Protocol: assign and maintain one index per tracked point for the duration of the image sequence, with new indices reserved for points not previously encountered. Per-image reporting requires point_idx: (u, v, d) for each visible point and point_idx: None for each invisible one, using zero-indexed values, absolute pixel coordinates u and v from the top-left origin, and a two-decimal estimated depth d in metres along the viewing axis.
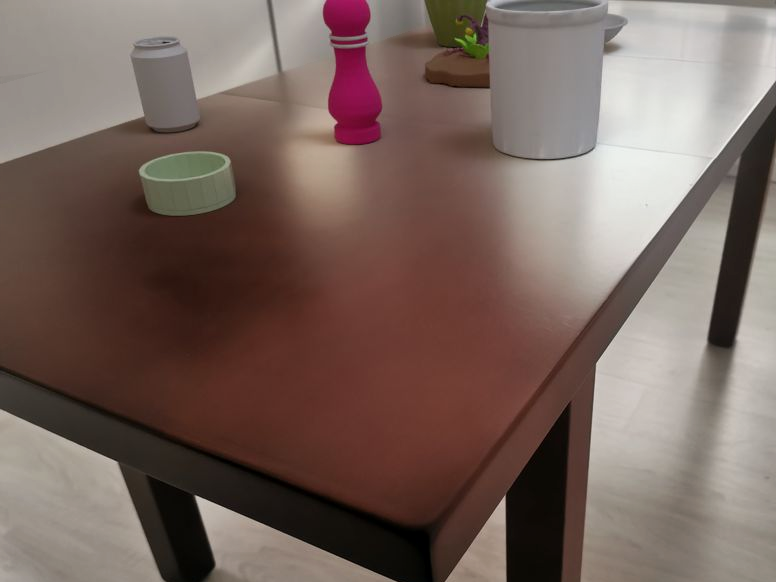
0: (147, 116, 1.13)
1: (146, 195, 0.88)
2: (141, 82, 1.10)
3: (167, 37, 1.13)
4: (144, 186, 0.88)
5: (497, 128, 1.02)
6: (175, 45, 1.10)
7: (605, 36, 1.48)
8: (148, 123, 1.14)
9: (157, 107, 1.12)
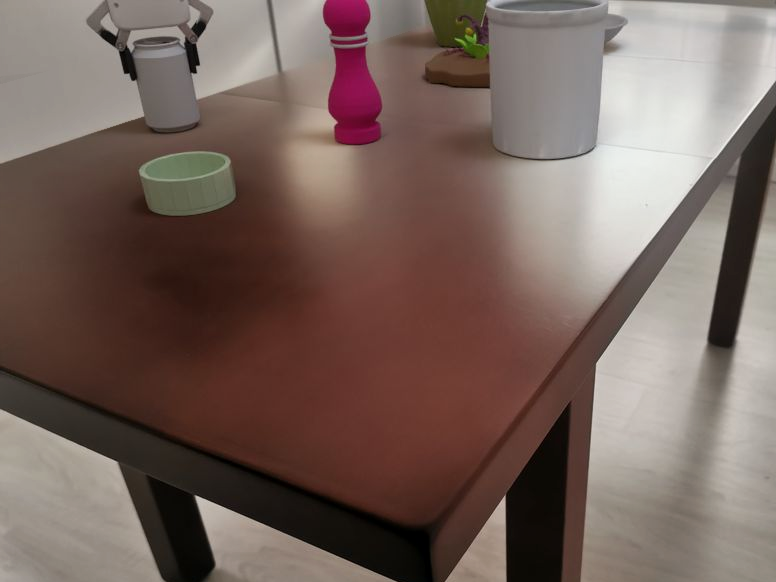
0: (147, 116, 1.13)
1: (146, 195, 0.88)
2: (141, 82, 1.10)
3: (167, 37, 1.13)
4: (144, 186, 0.88)
5: (497, 128, 1.02)
6: (175, 45, 1.10)
7: (605, 36, 1.48)
8: (148, 123, 1.14)
9: (157, 107, 1.12)
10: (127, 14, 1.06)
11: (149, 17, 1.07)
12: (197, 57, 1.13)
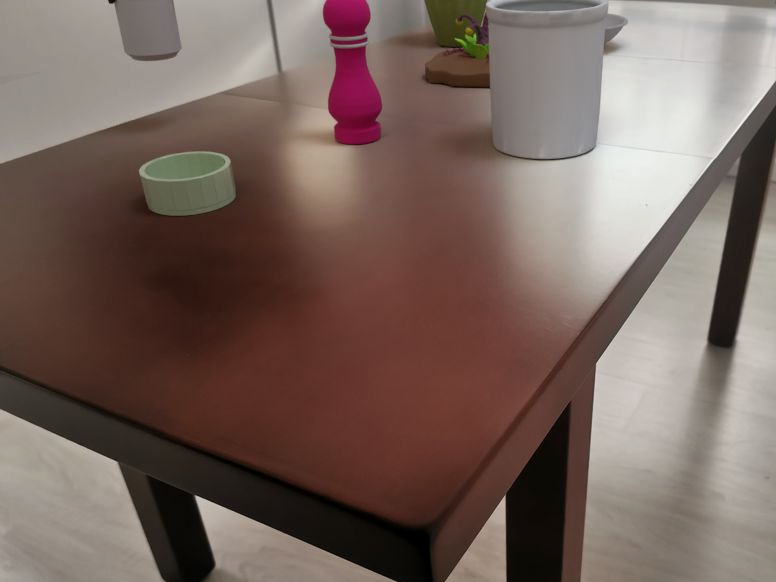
0: (126, 42, 1.08)
1: (146, 195, 0.88)
2: (120, 5, 1.05)
3: None
4: (144, 186, 0.88)
5: (497, 128, 1.02)
6: None
7: (605, 36, 1.48)
8: (126, 51, 1.09)
9: (135, 32, 1.06)
10: None
11: None
12: None
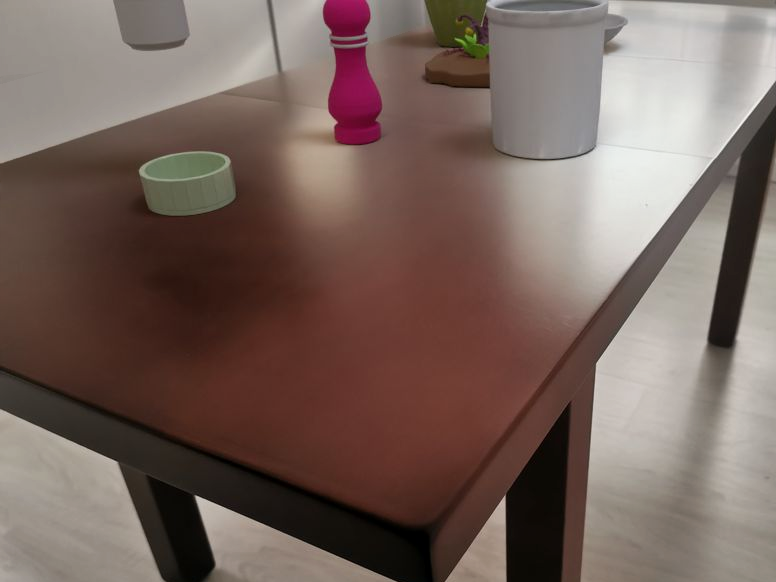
0: (124, 29, 0.90)
1: (146, 195, 0.88)
2: None
3: None
4: (144, 186, 0.88)
5: (497, 128, 1.02)
6: None
7: (605, 36, 1.48)
8: (125, 39, 0.91)
9: (135, 17, 0.89)
10: None
11: None
12: None
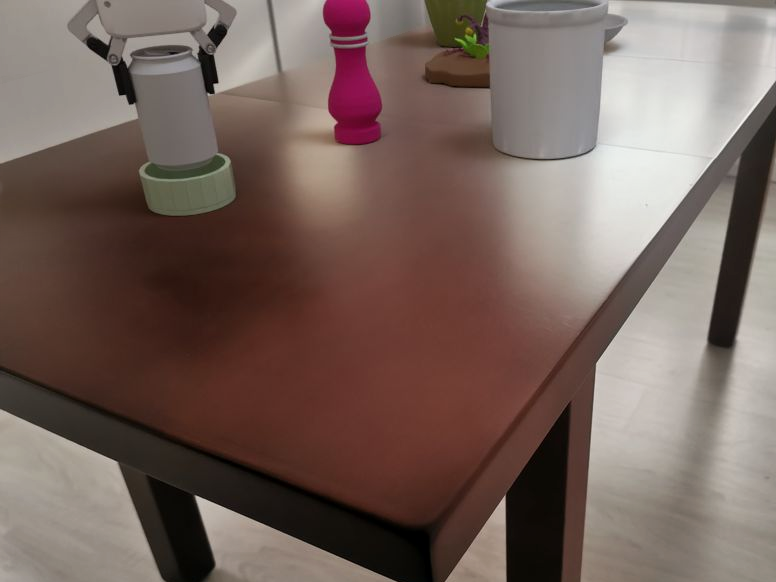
0: (150, 150, 0.86)
1: (146, 195, 0.88)
2: (142, 106, 0.83)
3: (175, 46, 0.86)
4: (144, 186, 0.88)
5: (497, 128, 1.02)
6: (186, 56, 0.83)
7: (605, 36, 1.48)
8: (151, 159, 0.87)
9: (162, 138, 0.85)
10: (122, 16, 0.79)
11: (152, 20, 0.80)
12: (215, 72, 0.86)
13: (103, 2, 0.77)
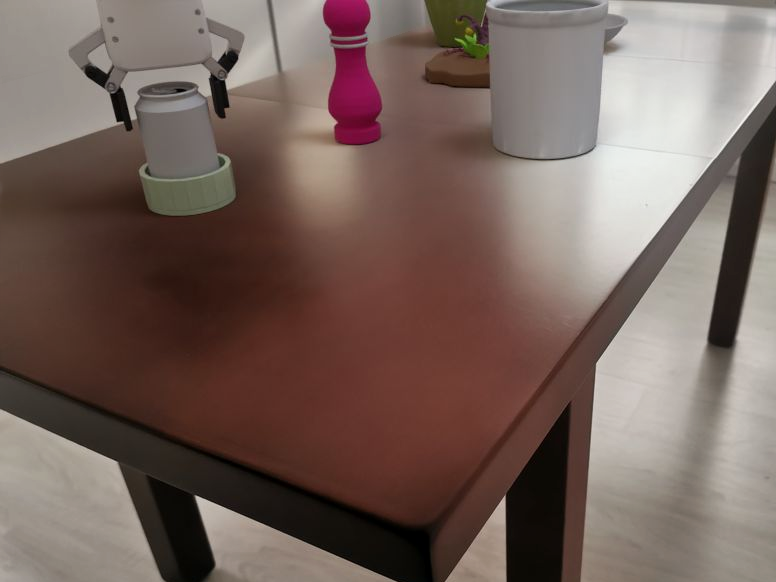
0: None
1: (146, 195, 0.88)
2: (149, 142, 0.85)
3: (182, 82, 0.88)
4: (144, 186, 0.88)
5: (497, 128, 1.02)
6: (192, 94, 0.85)
7: (605, 36, 1.48)
8: None
9: (168, 173, 0.87)
10: (130, 51, 0.80)
11: (159, 54, 0.81)
12: (226, 97, 0.88)
13: (111, 37, 0.79)
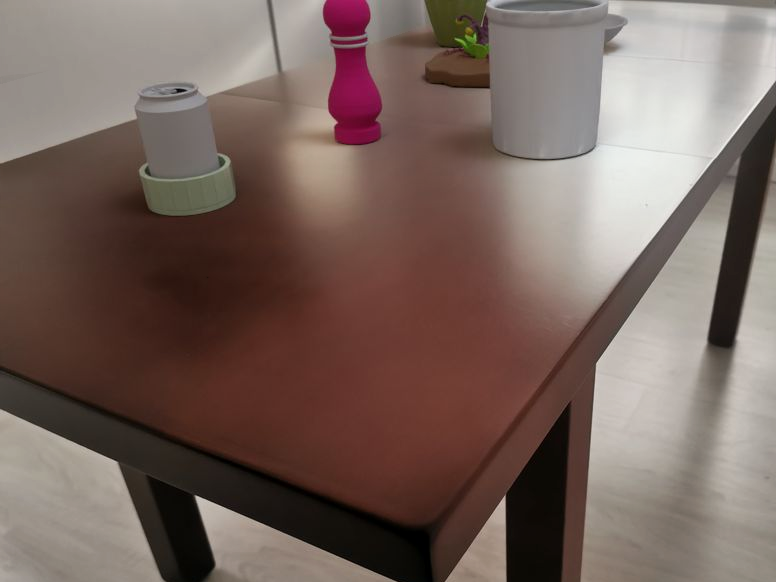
0: None
1: (146, 195, 0.88)
2: (149, 142, 0.85)
3: (182, 82, 0.88)
4: (144, 186, 0.88)
5: (497, 128, 1.02)
6: (192, 94, 0.85)
7: (605, 36, 1.48)
8: None
9: (168, 173, 0.87)
10: None
11: None
12: None
13: None
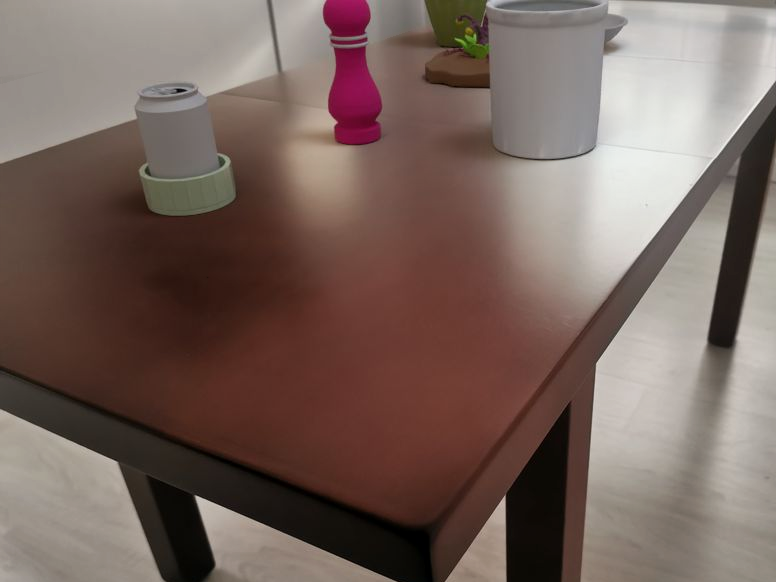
0: None
1: (146, 195, 0.88)
2: (149, 142, 0.85)
3: (182, 82, 0.88)
4: (144, 186, 0.88)
5: (497, 128, 1.02)
6: (192, 94, 0.85)
7: (605, 36, 1.48)
8: None
9: (168, 173, 0.87)
10: None
11: None
12: None
13: None
